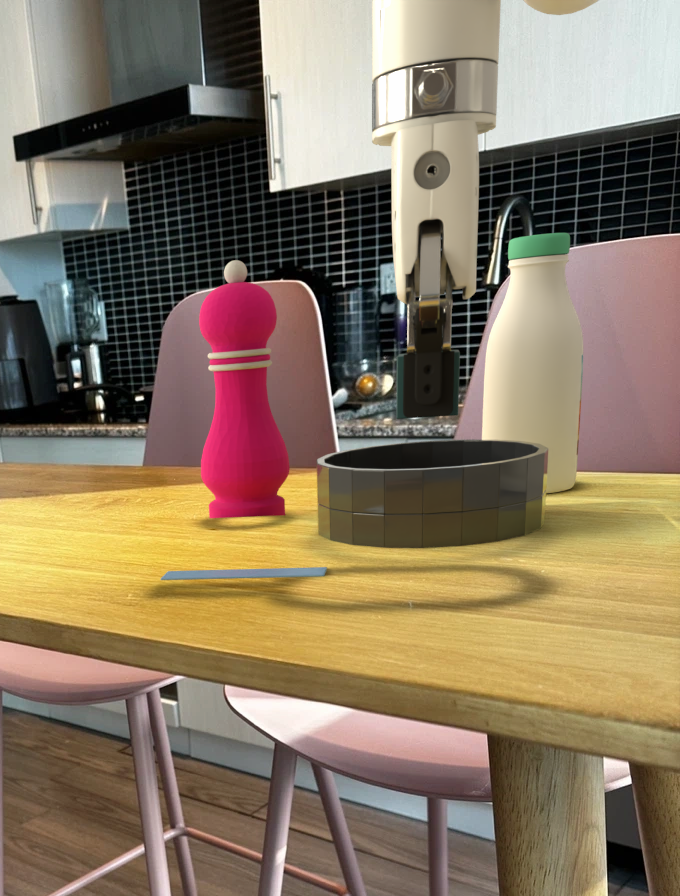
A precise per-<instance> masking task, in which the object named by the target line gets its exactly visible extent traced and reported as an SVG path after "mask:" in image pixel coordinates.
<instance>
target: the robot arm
mask: <svg viewBox="0 0 680 896" xmlns="http://www.w3.org/2000/svg"><path fill="white" fill-rule="evenodd" d="M522 1H523V2H524V3H525V4H526V5H528V6H529V7H530V8H532V9H534V10H535V11H537V12H540V13H543V14H546V15H551V16H552V15H553V16H555V15H556V16H564V15H571V14H574V13H577V12H580V11H583V10H585V9H587V8H589V7H590V6H592V5H594V4H596V3H598V2H599V1H600V0H522ZM501 3H502V0H372V1H371V7H372V8H371V11H372V13H371V15H372V16H371V18H372V19H371V20H372V21H371V23H372V24H371V27H372V33H371V34H372V35H371V36H372V38H371V39H372V43H371V44H372V45H371V46H372V47H371V48H372V50H371V52H372V56H371V58H372V60H371V63H372V65H371V68H372V69H371V70H372V71H371V80H372V81H371V82H372V85H371V94H372V95H371V108H372V109H371V139H372V140H371V142H372V144H373V145H375V146H377V145H378V146H381V147H391V160H390V161H391V163H390V164H391V169H390V170H391V182H390V183H391V184H390V185H391V237H392V239H391V240H392V256H393V257H392V258H393V268H394V269H393V270H394V280H395V286H396V287H395V288H396V295H397V296H396V297H397V300H398V301H400V302H401V303H403V304H405V305H406V310H407V329H406V330H407V333H406V335H407V338H406V340H407V341H406V345H407V346H406V351H405V353H404V354H405V355H404V364H403V414H404V416H405V417H407V418H406V419H414V418H413V417H421V418H431V417H430V416H438V417H448V416H447V415H450V414H451V413H452V411H453V392H454V354H455V351H451V350H454V348H453V347H452V321H453V320H452V316H453V315H452V314H453V313H452V312H453V310H452V309H453V305H454V301H453V290H461V289H462V300H469V299H470V298H472V296H474V295H475V293H476V292H477V265H478V263H477V261H478V260H477V259H478V236H479V235H478V231H479V230H478V229H479V200H480V199H479V197H480V153H479V152H480V151H479V135H482V134H485V133H488V132H489V131H493V130H494V129H496V128H497V113H498V112H497V108H498V85H499V83H498V82H499V60H500V59H499V57H500V56H499V55H500V31H501V30H500V29H501ZM442 295H445V297H441V296H442ZM417 297H418V298H419V299H416V298H417ZM442 351H443V352H442ZM415 353H416V354H415Z"/></svg>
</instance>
